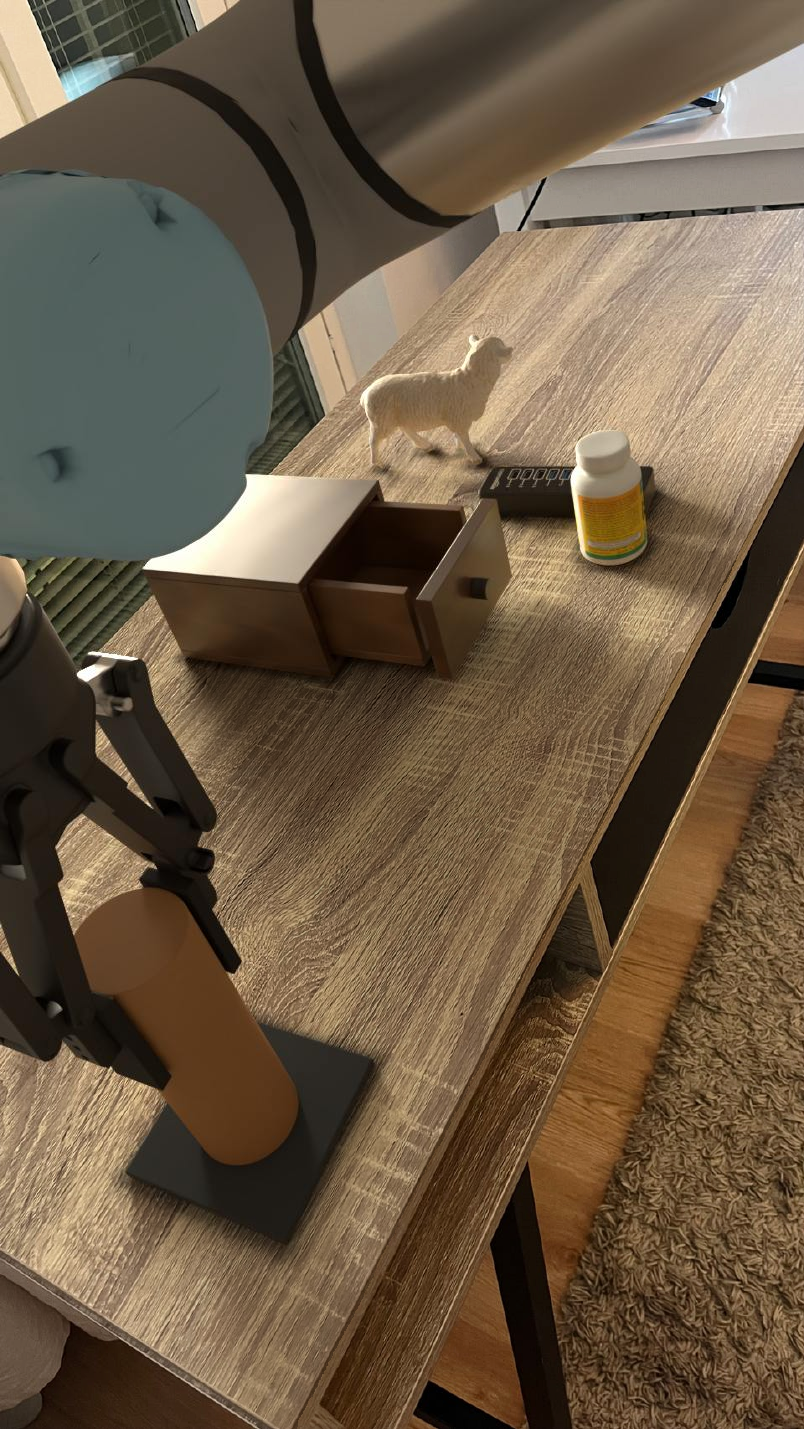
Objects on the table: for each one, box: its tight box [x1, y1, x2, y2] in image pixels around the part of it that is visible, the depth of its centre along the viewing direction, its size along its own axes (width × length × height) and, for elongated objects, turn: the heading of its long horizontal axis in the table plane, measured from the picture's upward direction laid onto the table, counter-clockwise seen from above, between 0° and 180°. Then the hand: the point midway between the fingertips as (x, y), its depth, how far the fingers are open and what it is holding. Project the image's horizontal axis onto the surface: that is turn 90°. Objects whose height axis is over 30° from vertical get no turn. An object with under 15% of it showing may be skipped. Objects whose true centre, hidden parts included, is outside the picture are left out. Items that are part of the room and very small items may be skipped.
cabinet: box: [141, 474, 386, 679], centre depth 87 cm, size 15×14×9 cm
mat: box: [125, 1020, 376, 1245], centre depth 57 cm, size 10×10×1 cm
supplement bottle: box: [571, 429, 648, 566], centre depth 83 cm, size 5×5×10 cm
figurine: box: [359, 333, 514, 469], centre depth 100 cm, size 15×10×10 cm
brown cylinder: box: [73, 887, 299, 1165], centre depth 52 cm, size 6×6×16 cm
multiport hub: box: [477, 465, 657, 518], centre depth 92 cm, size 4×14×2 cm, turn 68°
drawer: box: [306, 499, 513, 680], centre depth 82 cm, size 15×12×7 cm
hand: (181, 1015), depth 50 cm, fingers closed on brown cylinder, 6 cm apart
